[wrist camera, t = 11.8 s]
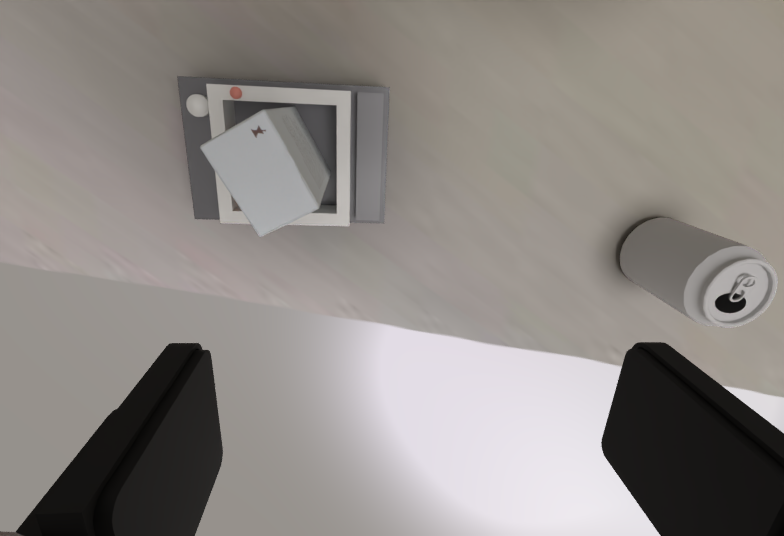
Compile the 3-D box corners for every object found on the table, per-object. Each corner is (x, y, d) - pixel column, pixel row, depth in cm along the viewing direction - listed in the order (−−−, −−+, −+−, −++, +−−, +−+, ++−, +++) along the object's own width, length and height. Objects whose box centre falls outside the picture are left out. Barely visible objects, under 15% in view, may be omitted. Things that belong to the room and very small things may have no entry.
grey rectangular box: (385, 89, 38) (392, 85, 30) (381, 210, 42) (386, 233, 34) (199, 79, 37) (158, 73, 29) (213, 205, 40) (180, 229, 33)
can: (604, 274, 46) (682, 328, 35) (632, 208, 44) (726, 243, 33) (663, 286, 48) (758, 342, 36) (695, 223, 45) (806, 262, 34)
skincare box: (248, 130, 34) (194, 143, 22) (295, 105, 33) (264, 105, 22) (288, 198, 36) (258, 240, 25) (333, 175, 35) (322, 207, 24)
